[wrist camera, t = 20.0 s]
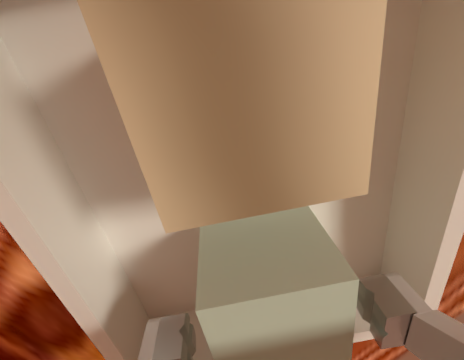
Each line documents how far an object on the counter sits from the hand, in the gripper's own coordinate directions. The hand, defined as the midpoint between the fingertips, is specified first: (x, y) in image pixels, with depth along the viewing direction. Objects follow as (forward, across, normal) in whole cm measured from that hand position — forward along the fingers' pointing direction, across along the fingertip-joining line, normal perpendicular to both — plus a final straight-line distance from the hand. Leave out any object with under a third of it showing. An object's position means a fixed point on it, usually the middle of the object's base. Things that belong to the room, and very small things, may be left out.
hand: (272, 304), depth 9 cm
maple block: (+4, 0, -8) cm, 9 cm away
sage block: (+4, 0, 0) cm, 4 cm away
